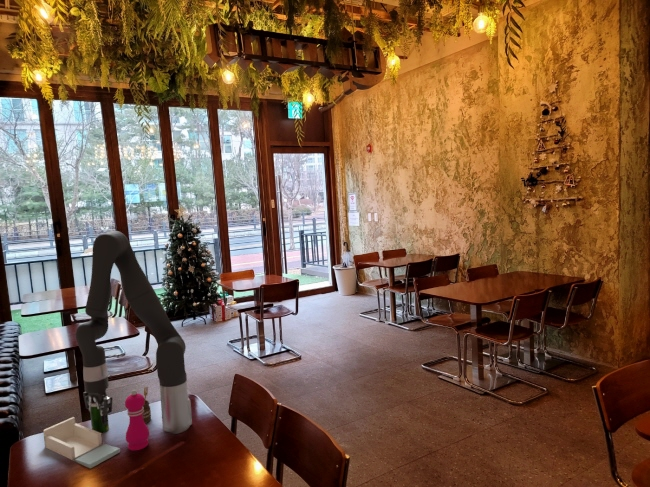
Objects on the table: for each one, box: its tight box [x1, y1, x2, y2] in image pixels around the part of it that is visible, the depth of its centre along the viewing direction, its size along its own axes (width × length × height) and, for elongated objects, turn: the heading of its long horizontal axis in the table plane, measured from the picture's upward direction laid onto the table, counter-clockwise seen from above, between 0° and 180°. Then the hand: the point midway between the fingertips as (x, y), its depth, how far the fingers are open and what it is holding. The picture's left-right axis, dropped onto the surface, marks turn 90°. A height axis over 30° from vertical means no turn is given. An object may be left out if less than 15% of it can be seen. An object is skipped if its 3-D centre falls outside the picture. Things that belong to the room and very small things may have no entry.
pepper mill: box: [124, 389, 150, 451], centre depth 146 cm, size 7×7×20 cm
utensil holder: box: [143, 386, 152, 424], centre depth 165 cm, size 6×6×12 cm
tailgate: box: [71, 442, 121, 469], centre depth 141 cm, size 10×2×9 cm
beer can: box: [89, 401, 110, 435], centre depth 157 cm, size 5×5×12 cm
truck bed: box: [43, 416, 103, 461], centre depth 147 cm, size 10×16×7 cm, turn 59°
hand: (99, 422), depth 157 cm, fingers closed on beer can, 5 cm apart
